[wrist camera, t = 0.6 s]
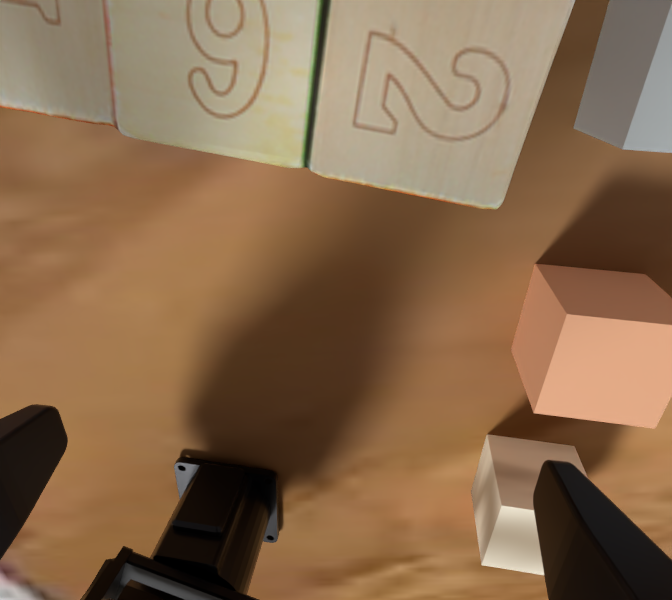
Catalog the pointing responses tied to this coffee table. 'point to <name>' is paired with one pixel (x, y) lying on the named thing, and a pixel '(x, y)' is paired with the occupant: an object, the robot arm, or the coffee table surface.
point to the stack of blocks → (300, 81)
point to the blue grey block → (631, 78)
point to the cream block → (512, 500)
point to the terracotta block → (595, 345)
